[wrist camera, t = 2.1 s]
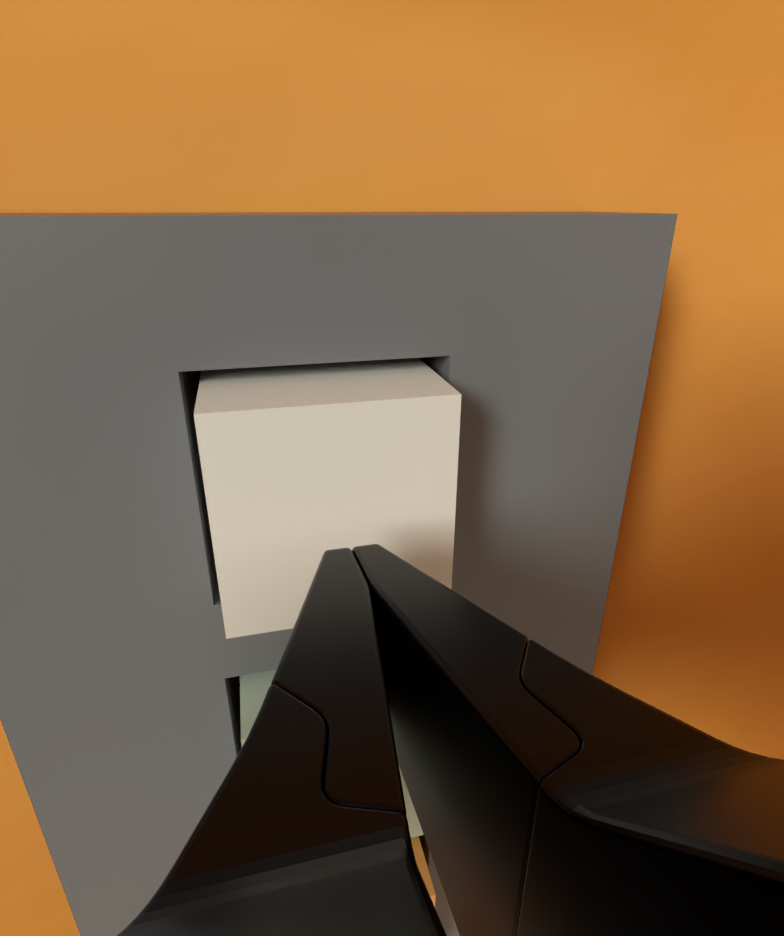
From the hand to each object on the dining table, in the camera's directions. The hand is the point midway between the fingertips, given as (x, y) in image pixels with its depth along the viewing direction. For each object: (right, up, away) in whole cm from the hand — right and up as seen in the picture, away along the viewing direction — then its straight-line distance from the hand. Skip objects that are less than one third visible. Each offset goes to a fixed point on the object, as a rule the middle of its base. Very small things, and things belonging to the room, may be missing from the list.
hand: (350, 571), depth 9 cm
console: (-1, -4, +8) cm, 9 cm away
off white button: (-1, +2, +4) cm, 5 cm away
